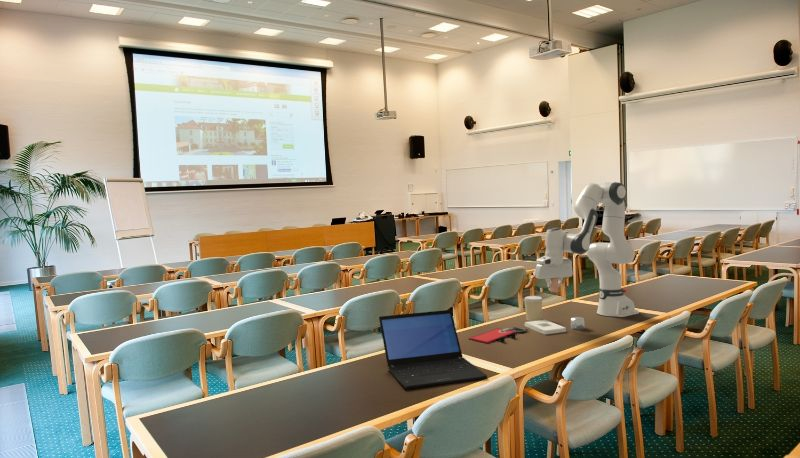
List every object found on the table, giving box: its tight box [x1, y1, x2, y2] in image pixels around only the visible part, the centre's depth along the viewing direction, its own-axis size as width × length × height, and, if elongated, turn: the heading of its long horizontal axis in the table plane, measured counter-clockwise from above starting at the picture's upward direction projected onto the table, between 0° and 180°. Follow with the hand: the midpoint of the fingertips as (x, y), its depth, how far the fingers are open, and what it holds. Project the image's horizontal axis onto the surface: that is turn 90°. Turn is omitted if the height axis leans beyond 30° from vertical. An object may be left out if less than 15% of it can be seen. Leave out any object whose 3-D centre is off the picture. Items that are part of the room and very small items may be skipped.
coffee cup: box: [524, 295, 543, 322], centre depth 292 cm, size 9×9×12 cm
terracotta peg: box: [549, 278, 559, 293], centre depth 278 cm, size 4×4×7 cm
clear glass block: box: [570, 316, 585, 331], centre depth 273 cm, size 6×6×5 cm
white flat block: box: [524, 319, 567, 336], centre depth 274 cm, size 12×18×2 cm, turn 18°
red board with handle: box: [468, 327, 528, 345], centre depth 265 cm, size 30×3×15 cm
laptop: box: [378, 309, 488, 390], centre depth 220 cm, size 33×38×19 cm
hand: (554, 286), depth 278 cm, fingers closed on terracotta peg, 4 cm apart
